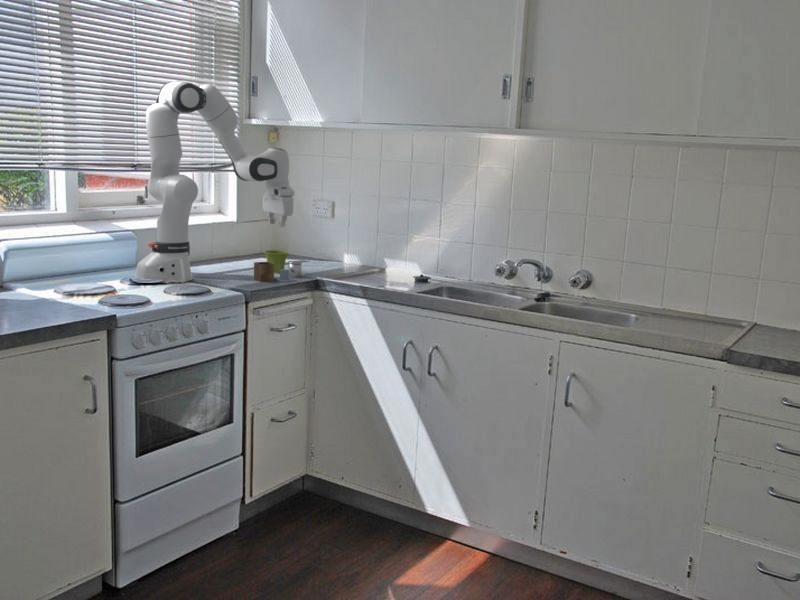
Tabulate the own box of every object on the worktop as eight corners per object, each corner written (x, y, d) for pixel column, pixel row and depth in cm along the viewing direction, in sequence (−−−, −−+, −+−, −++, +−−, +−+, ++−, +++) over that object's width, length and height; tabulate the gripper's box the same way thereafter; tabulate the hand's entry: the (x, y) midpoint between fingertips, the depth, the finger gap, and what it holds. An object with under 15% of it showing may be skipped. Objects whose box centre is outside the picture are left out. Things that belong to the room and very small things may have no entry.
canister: (260, 283, 314) (260, 264, 313) (253, 280, 319) (254, 262, 317) (273, 282, 317) (274, 263, 316) (267, 279, 322) (267, 261, 321)
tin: (291, 279, 325) (292, 263, 324) (285, 277, 329) (286, 261, 328) (303, 278, 328) (304, 262, 327) (297, 276, 332) (298, 260, 331)
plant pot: (290, 272, 342) (290, 250, 340) (284, 275, 333) (285, 254, 331) (267, 270, 343) (267, 249, 341) (261, 274, 333) (261, 252, 332)
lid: (280, 284, 315) (280, 271, 314) (272, 281, 320) (272, 268, 320) (296, 283, 319) (296, 270, 318) (288, 280, 324) (288, 267, 323)
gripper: (258, 187, 338) (258, 222, 340) (281, 191, 321) (281, 228, 324) (273, 187, 341) (272, 221, 344) (296, 191, 325) (295, 227, 327)
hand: (277, 225), depth 334 cm, fingers open, 8 cm apart
